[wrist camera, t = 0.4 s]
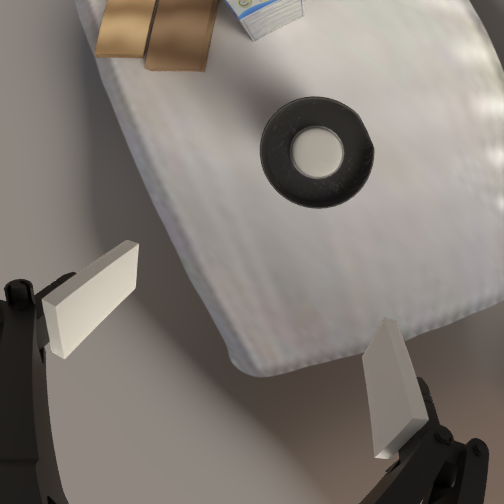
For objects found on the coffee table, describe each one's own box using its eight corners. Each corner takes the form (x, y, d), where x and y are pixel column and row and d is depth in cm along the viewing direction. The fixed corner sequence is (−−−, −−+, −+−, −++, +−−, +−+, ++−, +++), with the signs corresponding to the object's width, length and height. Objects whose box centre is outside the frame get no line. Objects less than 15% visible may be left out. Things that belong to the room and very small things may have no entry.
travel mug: (274, 163, 39) (242, 188, 20) (293, 108, 36) (278, 78, 17) (330, 184, 38) (351, 227, 20) (350, 129, 35) (391, 121, 17)
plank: (121, -31, 27) (120, -38, 25) (165, -30, 29) (166, -36, 27) (97, 57, 33) (94, 54, 31) (143, 58, 35) (143, 54, 33)
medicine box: (287, -6, 30) (281, -36, 22) (305, 16, 31) (304, -11, 23) (236, 20, 32) (219, -5, 24) (253, 43, 33) (239, 20, 25)
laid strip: (179, -39, 29) (173, -46, 27) (230, -43, 28) (225, -51, 26) (152, 70, 36) (144, 68, 34) (204, 71, 35) (198, 68, 33)
